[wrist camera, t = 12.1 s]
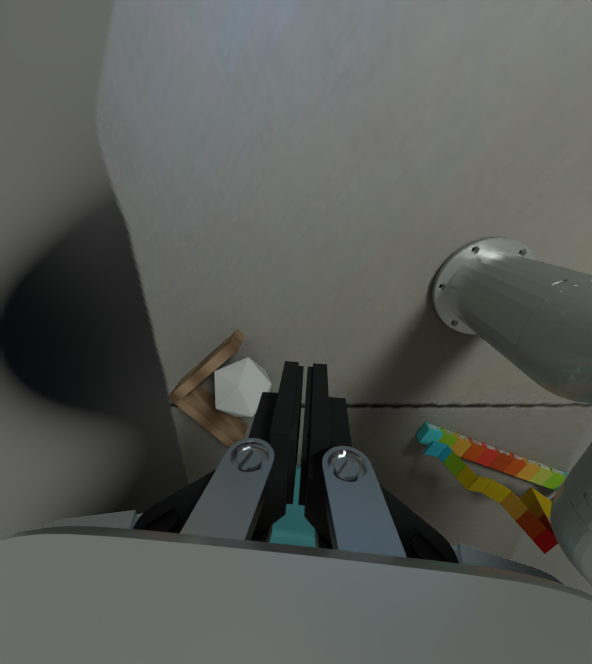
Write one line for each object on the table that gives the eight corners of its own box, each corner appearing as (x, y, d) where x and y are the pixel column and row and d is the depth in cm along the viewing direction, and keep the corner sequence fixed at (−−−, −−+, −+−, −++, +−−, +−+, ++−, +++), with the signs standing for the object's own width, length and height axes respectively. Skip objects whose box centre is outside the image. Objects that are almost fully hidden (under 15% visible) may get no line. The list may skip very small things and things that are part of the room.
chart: (585, 477, 50) (685, 581, 36) (571, 489, 51) (663, 593, 38) (425, 420, 48) (468, 507, 34) (415, 434, 49) (453, 523, 35)
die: (217, 385, 48) (232, 439, 43) (197, 358, 41) (212, 417, 36) (263, 366, 50) (284, 415, 44) (251, 336, 43) (274, 390, 37)
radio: (265, 442, 52) (246, 529, 38) (323, 452, 52) (325, 542, 38) (249, 555, 66) (231, 648, 52) (294, 563, 66) (288, 658, 52)
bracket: (244, 329, 43) (236, 344, 38) (247, 430, 51) (240, 452, 46) (174, 324, 44) (157, 339, 39) (188, 425, 51) (175, 446, 47)
